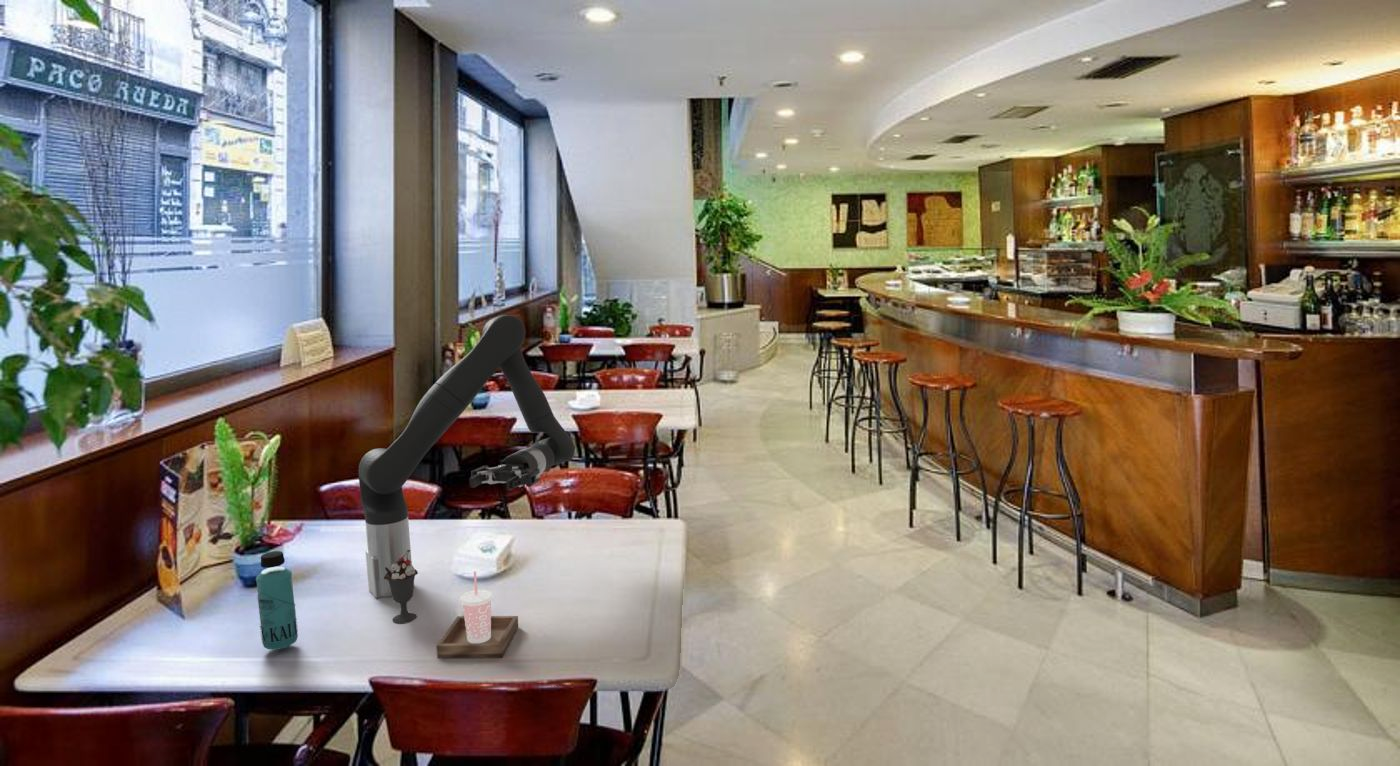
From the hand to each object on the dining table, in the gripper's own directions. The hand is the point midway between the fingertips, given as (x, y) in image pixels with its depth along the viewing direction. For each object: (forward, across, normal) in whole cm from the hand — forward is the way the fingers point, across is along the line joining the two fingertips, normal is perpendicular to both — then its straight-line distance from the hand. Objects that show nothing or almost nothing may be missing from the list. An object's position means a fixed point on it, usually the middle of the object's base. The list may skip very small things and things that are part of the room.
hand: (489, 484), depth 168 cm
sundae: (+6, -18, +30) cm, 35 cm away
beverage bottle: (+23, -34, +30) cm, 51 cm away
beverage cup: (+12, +3, +28) cm, 31 cm away
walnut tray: (+12, +4, +29) cm, 32 cm away
